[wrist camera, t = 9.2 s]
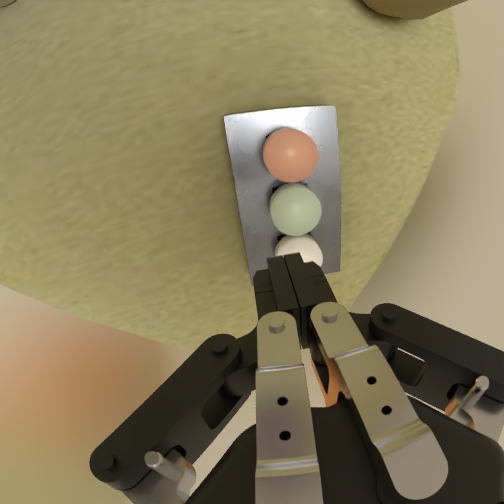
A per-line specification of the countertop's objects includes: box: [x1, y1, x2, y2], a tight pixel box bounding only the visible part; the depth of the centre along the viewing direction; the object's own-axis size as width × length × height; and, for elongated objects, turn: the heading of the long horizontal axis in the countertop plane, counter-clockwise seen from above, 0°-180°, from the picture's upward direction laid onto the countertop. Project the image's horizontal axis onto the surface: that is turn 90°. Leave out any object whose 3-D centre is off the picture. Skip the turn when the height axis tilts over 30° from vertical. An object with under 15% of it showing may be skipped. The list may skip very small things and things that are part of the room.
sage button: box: [269, 183, 322, 236], centre depth 24 cm, size 4×4×4 cm
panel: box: [224, 105, 341, 285], centre depth 26 cm, size 16×9×2 cm, turn 8°
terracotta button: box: [262, 128, 318, 183], centre depth 22 cm, size 4×4×4 cm
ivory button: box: [275, 234, 323, 267], centre depth 26 cm, size 4×4×4 cm
